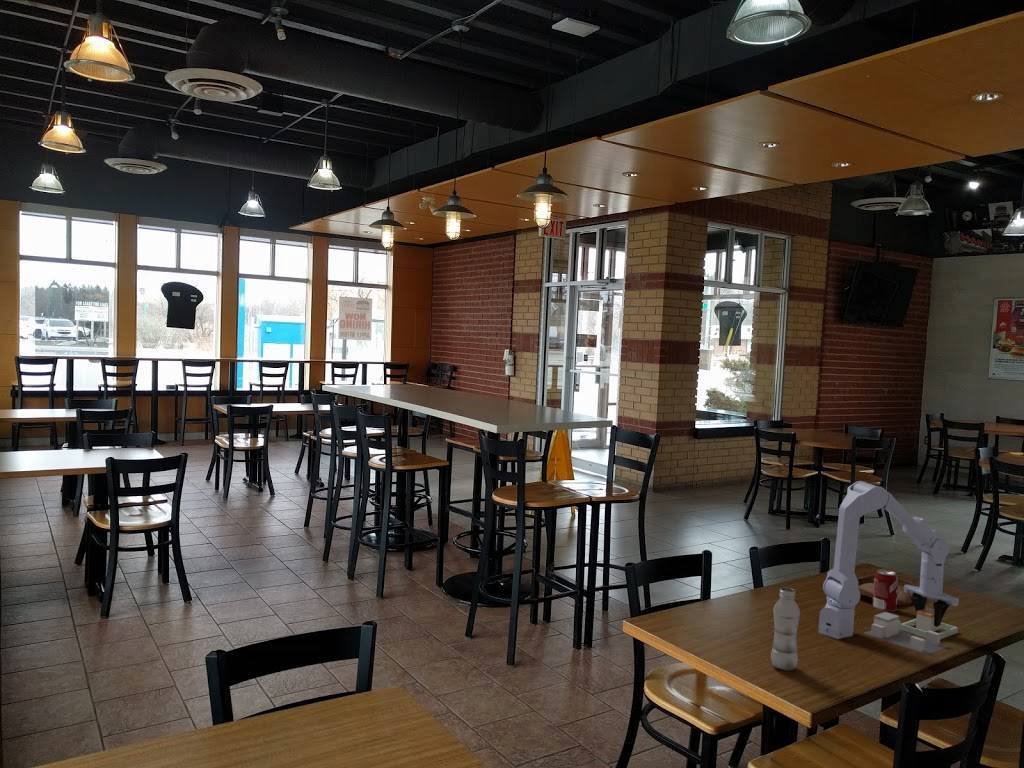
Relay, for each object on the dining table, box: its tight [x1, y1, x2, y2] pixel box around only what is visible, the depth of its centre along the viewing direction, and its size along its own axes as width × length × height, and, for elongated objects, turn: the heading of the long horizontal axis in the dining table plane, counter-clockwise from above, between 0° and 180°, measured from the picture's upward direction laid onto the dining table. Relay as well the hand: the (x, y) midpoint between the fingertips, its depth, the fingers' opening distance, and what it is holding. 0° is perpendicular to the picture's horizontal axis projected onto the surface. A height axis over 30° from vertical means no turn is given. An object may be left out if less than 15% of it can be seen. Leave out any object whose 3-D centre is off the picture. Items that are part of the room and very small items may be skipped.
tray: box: [900, 618, 959, 640], centre depth 218 cm, size 12×10×2 cm
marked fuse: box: [915, 606, 942, 632], centre depth 218 cm, size 6×4×5 cm, turn 125°
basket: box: [857, 573, 915, 606], centre depth 251 cm, size 22×20×5 cm
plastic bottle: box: [770, 587, 801, 671], centre depth 190 cm, size 6×7×20 cm
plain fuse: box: [873, 611, 900, 637], centre depth 215 cm, size 6×4×5 cm, turn 125°
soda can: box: [872, 569, 899, 613], centre depth 238 cm, size 7×7×12 cm
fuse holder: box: [863, 620, 949, 656], centre depth 210 cm, size 11×18×4 cm, turn 35°
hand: (929, 623), depth 218 cm, fingers closed on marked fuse, 4 cm apart
